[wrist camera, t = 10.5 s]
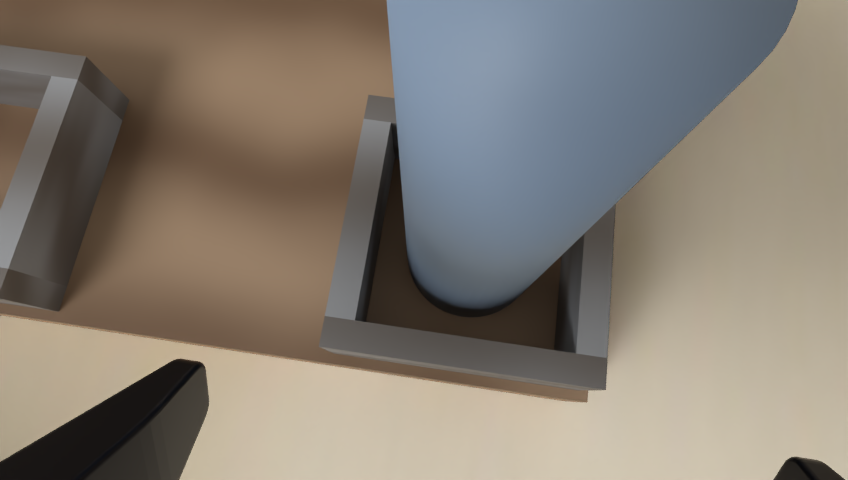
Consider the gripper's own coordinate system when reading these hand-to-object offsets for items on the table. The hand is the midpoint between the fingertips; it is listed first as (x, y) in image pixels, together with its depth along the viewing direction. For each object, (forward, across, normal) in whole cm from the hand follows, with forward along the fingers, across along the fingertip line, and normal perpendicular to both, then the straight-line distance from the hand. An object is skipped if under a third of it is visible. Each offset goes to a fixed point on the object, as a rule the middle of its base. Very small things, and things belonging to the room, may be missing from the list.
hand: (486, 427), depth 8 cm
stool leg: (+9, 0, +2) cm, 9 cm away
